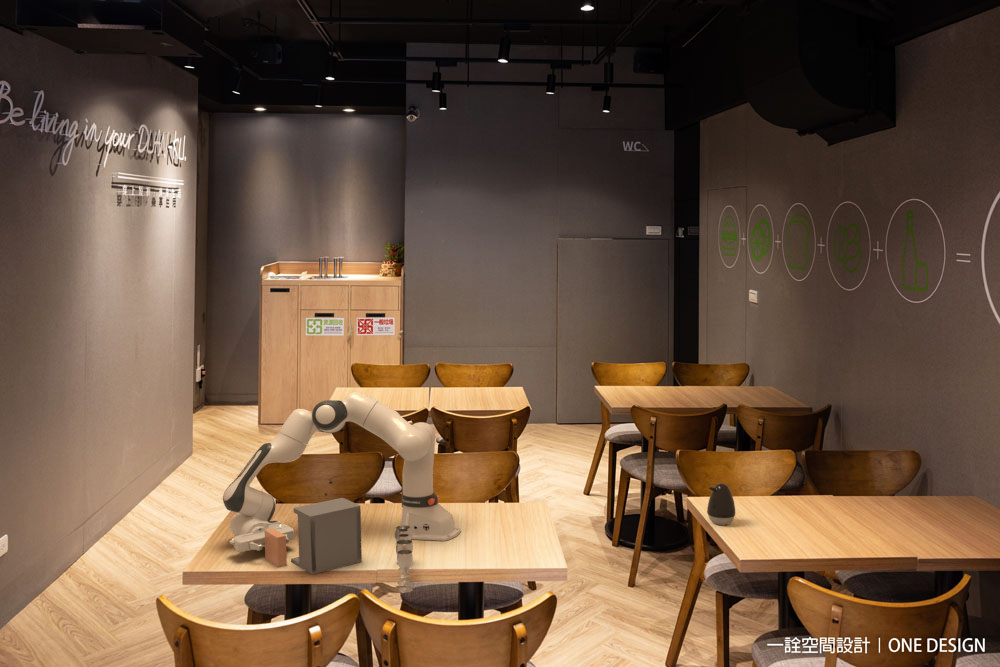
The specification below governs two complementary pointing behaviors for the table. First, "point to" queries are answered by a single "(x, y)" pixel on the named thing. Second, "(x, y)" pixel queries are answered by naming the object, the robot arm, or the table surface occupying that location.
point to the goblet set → (404, 555)
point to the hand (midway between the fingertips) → (273, 544)
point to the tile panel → (275, 547)
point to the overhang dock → (328, 535)
